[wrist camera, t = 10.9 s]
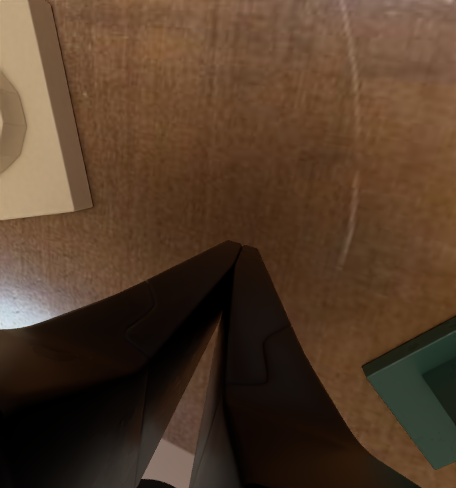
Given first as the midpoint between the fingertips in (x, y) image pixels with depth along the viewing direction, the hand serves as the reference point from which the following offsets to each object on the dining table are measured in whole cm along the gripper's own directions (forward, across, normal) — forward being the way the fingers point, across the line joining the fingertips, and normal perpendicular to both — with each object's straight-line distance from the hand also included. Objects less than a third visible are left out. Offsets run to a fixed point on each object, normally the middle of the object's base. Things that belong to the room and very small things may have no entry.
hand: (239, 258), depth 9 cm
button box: (+12, +18, +3) cm, 21 cm away
